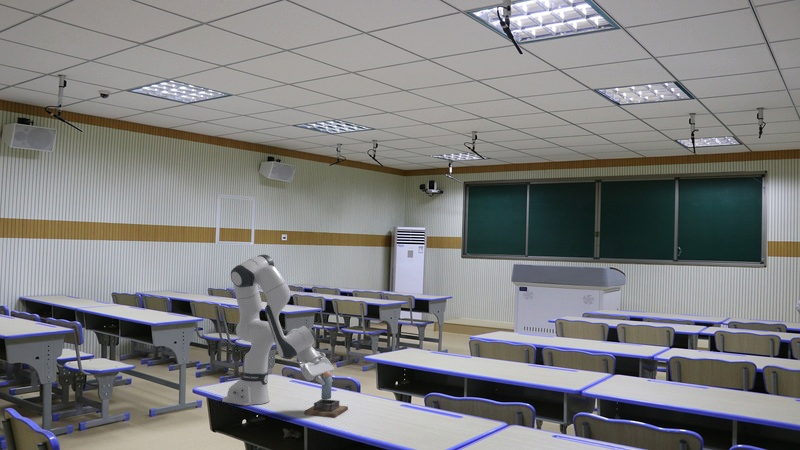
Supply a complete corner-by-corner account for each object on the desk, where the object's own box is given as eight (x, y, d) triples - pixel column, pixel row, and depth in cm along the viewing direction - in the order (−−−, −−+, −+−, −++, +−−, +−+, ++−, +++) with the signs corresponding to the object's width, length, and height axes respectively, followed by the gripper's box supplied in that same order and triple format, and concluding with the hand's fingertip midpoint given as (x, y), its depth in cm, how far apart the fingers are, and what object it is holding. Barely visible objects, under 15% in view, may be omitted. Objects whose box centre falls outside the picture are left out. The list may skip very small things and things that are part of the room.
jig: (304, 414, 277) (304, 403, 277) (318, 406, 292) (318, 396, 292) (335, 417, 273) (335, 407, 273) (347, 409, 287) (348, 399, 288)
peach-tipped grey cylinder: (319, 398, 280) (320, 371, 281) (323, 396, 285) (324, 369, 285) (328, 399, 279) (329, 372, 280) (332, 397, 283) (333, 370, 284)
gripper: (302, 358, 276) (320, 383, 272) (326, 352, 295) (343, 375, 290) (293, 367, 278) (311, 392, 273) (317, 361, 297) (334, 383, 292)
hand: (327, 383), depth 282 cm, fingers closed on peach-tipped grey cylinder, 4 cm apart
